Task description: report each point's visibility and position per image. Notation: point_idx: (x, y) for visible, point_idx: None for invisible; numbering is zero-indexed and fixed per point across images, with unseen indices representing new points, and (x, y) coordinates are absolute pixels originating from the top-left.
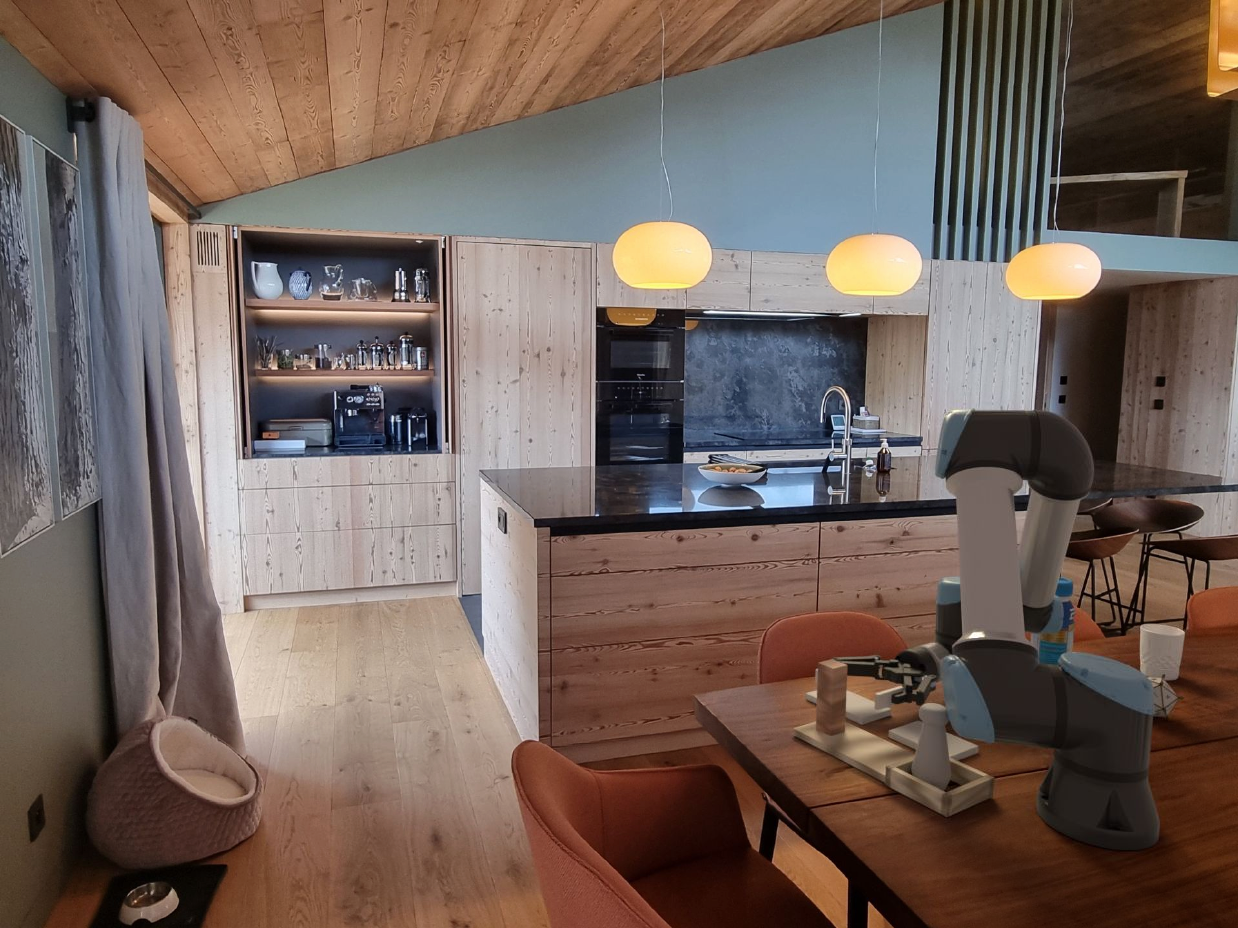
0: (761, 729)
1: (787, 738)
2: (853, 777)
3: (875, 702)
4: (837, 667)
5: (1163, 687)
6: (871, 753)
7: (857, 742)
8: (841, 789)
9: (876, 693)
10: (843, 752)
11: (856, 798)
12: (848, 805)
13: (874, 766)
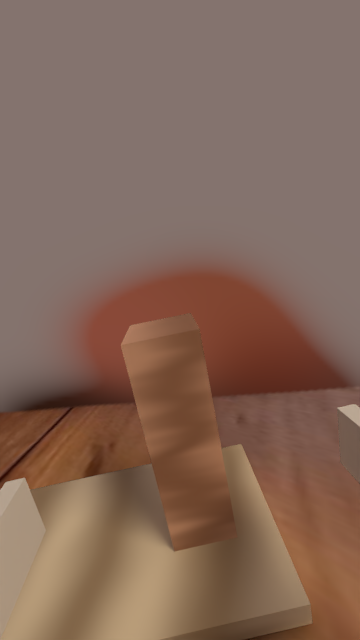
0: (286, 424)
1: None
2: (59, 476)
3: (33, 509)
4: (128, 330)
5: None
6: (47, 534)
7: (105, 540)
8: (60, 445)
9: (19, 483)
10: (101, 478)
11: (31, 450)
12: (35, 436)
13: None
